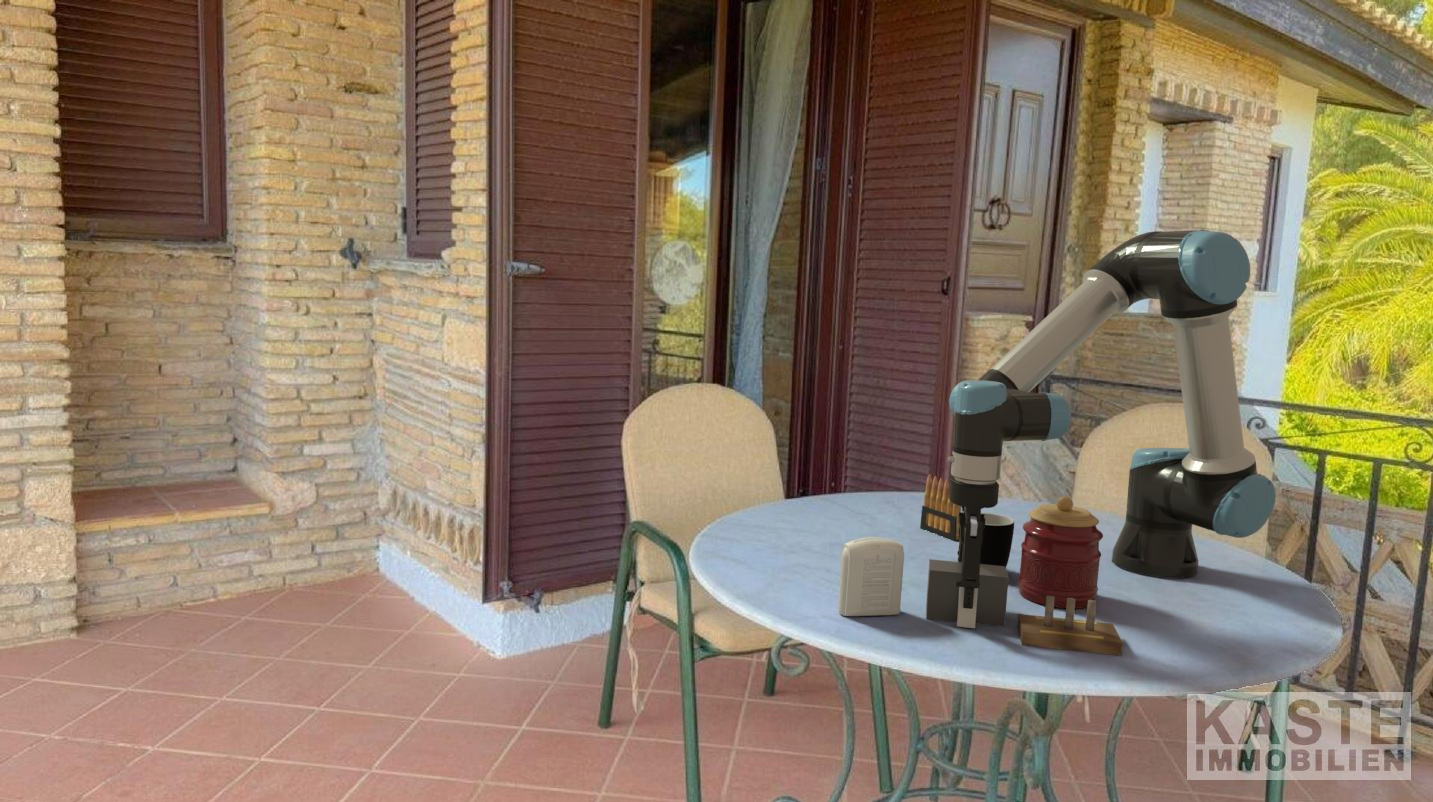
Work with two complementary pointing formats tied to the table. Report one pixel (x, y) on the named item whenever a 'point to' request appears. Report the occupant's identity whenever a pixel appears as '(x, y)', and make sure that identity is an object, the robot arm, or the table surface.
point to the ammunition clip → (940, 510)
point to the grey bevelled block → (946, 592)
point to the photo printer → (871, 577)
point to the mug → (996, 539)
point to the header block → (1069, 630)
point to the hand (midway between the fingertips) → (964, 614)
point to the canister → (1060, 555)
